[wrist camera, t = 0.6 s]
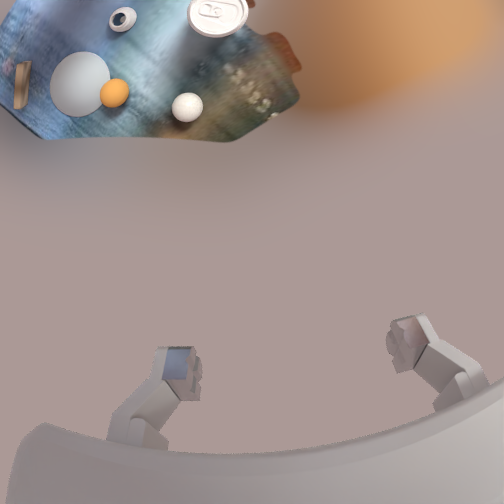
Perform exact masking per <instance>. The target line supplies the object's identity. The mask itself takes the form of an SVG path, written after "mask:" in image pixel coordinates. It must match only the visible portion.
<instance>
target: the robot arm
mask: <svg viewBox="0 0 504 504" xmlns="http://www.w3.org/2000/svg"><path fill="white" fill-rule="evenodd" d="M390 327H391V330H390V331H389V332H388V333H387V336H386V346H387V350H388V352H389V354H391V355H392V356H394V357H393V360H392V362H393V365H394V367H395V370H396V372H397V373H400V372H404V371H408V370H412V369H413V370H414V371H415V372H416V373H417V374H418V375H420V376H421V377H422V378H423V379H424V380H425V381H426V382H428V383H429V384H430V385H431V386H432V387H433V388H434V389H436V390H437V391H438V392H439V393H440V394H439V395H438V397H437V398H436V399H435V400H434V402H433V406H434V409H435V413H433V414H430V415H428V416H425V417H423V418H420V419H418V420H415V421H412V422H409V423H407V424H403V425H401V426H398V427H395V428H392V429H388V430H385V431H382V432H378V433H375V434H371V435H367V436H364V437H359V438H355V439H351V440H347V441H342V442H337V443H332V444H327V445H322V446H316V447H310V448H303V449H296V450H286V451H276V452H264V453H244V454H207V453H188V452H175V451H168V443H169V441H168V440H167V438H165V437H164V436H163V435H161V434H160V433H159V431H160V429H161V428H162V427H163V425H164V424H165V423H166V421H167V420H168V419H169V417H170V416H171V414H172V413H173V412H174V410H175V409H176V408H177V406H178V405H179V403H180V401H199V400H200V391H201V386H200V384H199V383H198V382H199V381H200V380H201V378H202V364H201V360H200V358H199V357H198V356H196V350H195V348H194V346H191V347H189V346H187V347H158V348H157V350H156V353H155V357H154V361H153V365H152V369H151V373H150V378H149V379H146V380H145V381H144V382H143V383H142V384H141V385H140V386H139V387H138V388H137V389H136V390H135V391H134V392H133V393H132V394H131V395H130V396H129V397H128V398H127V399H126V400H125V401H124V402H123V404H121V405H120V406H119V407H118V408H117V410H115V411H114V412H113V414H112V417H111V422H110V425H109V429H108V434H107V438H106V440H102V439H98V438H94V437H90V436H86V435H83V434H79V433H76V432H72V431H70V430H66V429H63V428H60V427H57V426H55V425H52V424H49V423H42V424H40V425H38V426H37V427H36V428H35V429H33V430H32V431H31V432H30V433H28V434H27V435H26V436H25V437H24V438H23V439H22V441H21V443H20V445H19V447H18V449H17V452H16V455H15V459H14V462H13V466H12V470H11V474H10V478H9V484H8V489H7V497H6V504H504V377H503V378H501V379H499V380H498V381H496V382H494V383H493V384H491V385H490V384H489V382H488V380H487V378H486V376H485V374H484V372H483V370H482V368H481V366H480V364H479V363H478V362H476V361H475V360H474V359H472V358H470V357H469V356H467V355H466V354H464V353H463V352H461V351H459V350H458V349H457V348H455V347H453V346H452V345H450V344H449V343H447V342H445V341H444V340H439V338H438V336H437V334H436V332H435V331H434V329H433V327H432V326H431V324H430V322H429V320H428V318H427V317H426V315H425V314H424V313H420V314H416V315H413V316H407V317H403V318H400V319H395V320H393V321H392V322H391V325H390Z"/></svg>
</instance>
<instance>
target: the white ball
mask: <svg viewBox="0 0 504 504" xmlns="http://www.w3.org/2000/svg"><path fill="white" fill-rule="evenodd" d="M202 110H203V103H202V100H201V99H200V97H199V96H197V95H196V94H193V93H183V94H181V95H179V96H178V97H177V98H176V99H175V100H174V102H173V104H172V112H173V115H174V116H175V117H176V118H177V119H178V120H180V121H183V122H190V121H193V120H195V119H197V118H198V117H199V116H200V114H201V112H202Z"/></svg>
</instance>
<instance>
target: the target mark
mask: <svg viewBox="0 0 504 504" xmlns="http://www.w3.org/2000/svg"><path fill="white" fill-rule="evenodd" d="M109 80H110V73H109V70H108V67H107V65H106V63H105V62H104V61H103V59H101V58H100V57H99V56H98V55H96V54H94V53H91V52H86V51H82V52H76V53H73V54H71V55H69V56H67V57H65V58H64V59H63V60H62V61H61V62H60V63H59V64H58V65H57V67H56V68H55V70H54V72H53V74H52V77H51V81H50V94H51V98H52V100H53V103H54V104H55V106H56V107H57V108H58V109H59V110H60V111H61V112H63V113H64V114H66V115H69V116H73V117H82V116H86V115H88V114H90V113H92V112H94V111H95V110H97V109H98V108H99V107H100V106H101V105H102V102H101V100H100V90H101V88H102V86H103V85H104V84H105V83H106V82H108V81H109Z"/></svg>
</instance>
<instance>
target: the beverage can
mask: <svg viewBox="0 0 504 504" xmlns="http://www.w3.org/2000/svg"><path fill="white" fill-rule="evenodd" d="M247 16H248V6H247V3H246V1H245V0H192V1H191V2H190V4H189V6H188V10H187V19H188V22H189V24H190V26H191V27H192V28H193V29H194V30H195V31H196V32H198V33H199V34H201V35H204V36H207V37H215V38H216V37H224V36H228V35H230V34H233V33H234V32H236V31H238V30H239V29H240V28H241V27H242V26H243V25H244V23H245V21H246V19H247Z"/></svg>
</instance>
